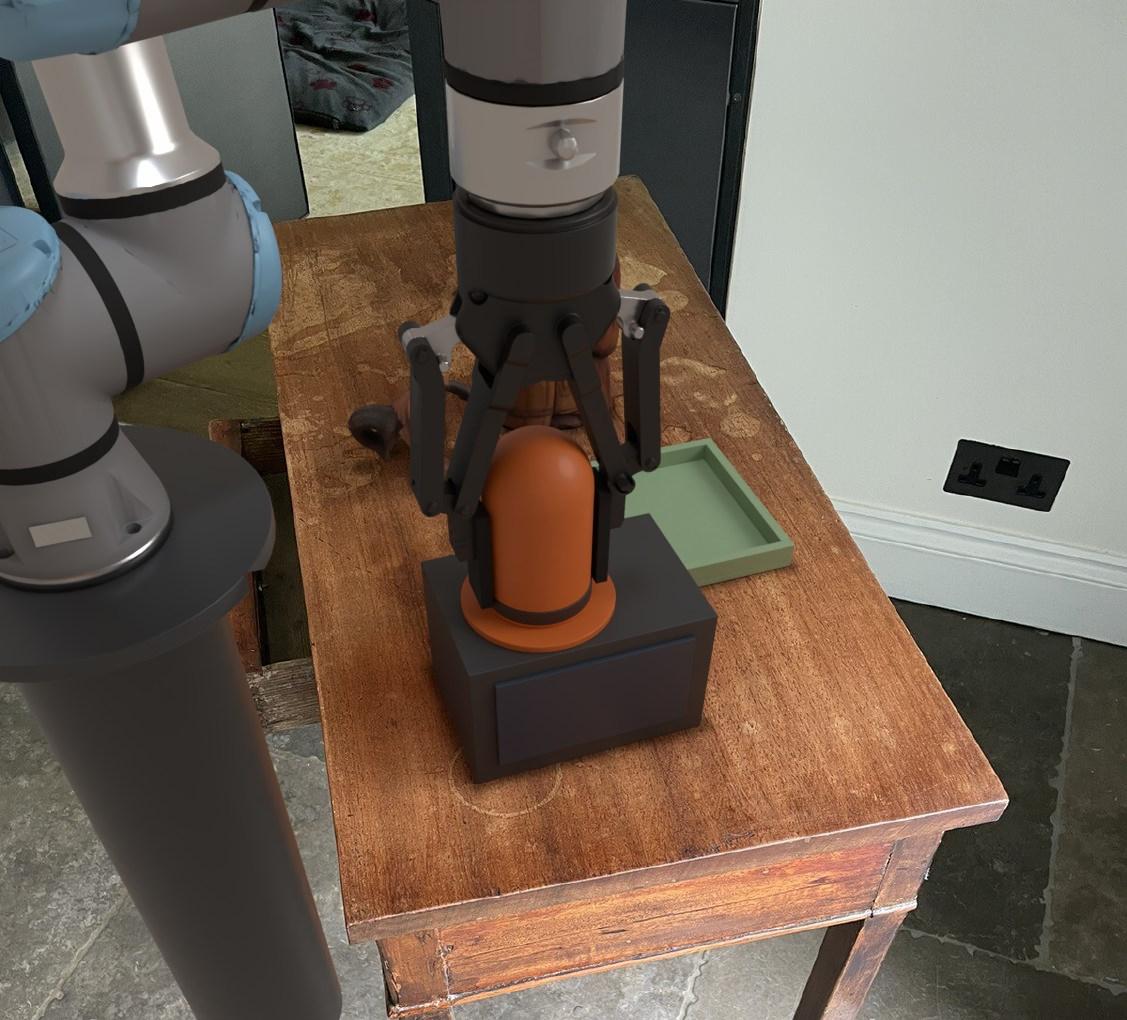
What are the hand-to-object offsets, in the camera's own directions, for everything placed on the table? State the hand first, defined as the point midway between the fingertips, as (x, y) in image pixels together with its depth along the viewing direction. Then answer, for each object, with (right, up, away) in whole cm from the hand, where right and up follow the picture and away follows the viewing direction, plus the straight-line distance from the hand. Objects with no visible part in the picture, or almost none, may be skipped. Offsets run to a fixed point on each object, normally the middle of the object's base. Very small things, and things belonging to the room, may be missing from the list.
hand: (538, 581), depth 65 cm
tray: (+10, +8, +22) cm, 25 cm away
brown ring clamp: (-11, +15, +28) cm, 33 cm away
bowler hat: (0, -1, +1) cm, 1 cm away
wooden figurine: (0, +21, +33) cm, 39 cm away
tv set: (+2, -7, +9) cm, 12 cm away
